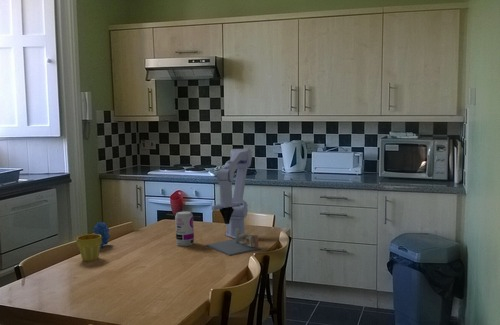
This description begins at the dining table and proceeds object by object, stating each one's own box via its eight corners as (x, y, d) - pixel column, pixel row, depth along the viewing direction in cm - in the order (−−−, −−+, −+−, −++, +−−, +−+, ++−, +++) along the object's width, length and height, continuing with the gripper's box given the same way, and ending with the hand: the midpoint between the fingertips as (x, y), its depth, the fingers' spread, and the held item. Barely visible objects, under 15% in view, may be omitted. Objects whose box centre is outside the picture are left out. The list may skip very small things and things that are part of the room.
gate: (238, 242, 239) (238, 233, 239) (240, 242, 240) (240, 233, 239) (252, 247, 230) (252, 237, 230) (255, 247, 231) (254, 237, 230)
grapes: (102, 250, 237) (100, 224, 236) (89, 249, 239) (88, 224, 238) (117, 244, 248) (115, 219, 247) (105, 243, 250) (103, 218, 249)
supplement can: (195, 241, 247) (194, 210, 246) (192, 246, 239) (190, 214, 238) (178, 242, 248) (177, 211, 246) (174, 246, 240) (173, 214, 238)
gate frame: (205, 245, 239) (205, 230, 239) (235, 240, 248) (234, 225, 247) (229, 255, 222) (228, 239, 221) (260, 249, 231) (259, 233, 230)
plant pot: (95, 262, 218) (94, 240, 217) (73, 262, 220) (71, 239, 219) (107, 255, 228) (105, 234, 227) (85, 255, 230) (84, 233, 229)
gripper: (216, 197, 233) (217, 227, 234) (243, 193, 241) (244, 222, 242) (208, 195, 239) (210, 224, 240) (235, 192, 246) (236, 220, 248)
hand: (227, 223), depth 241 cm, fingers closed
